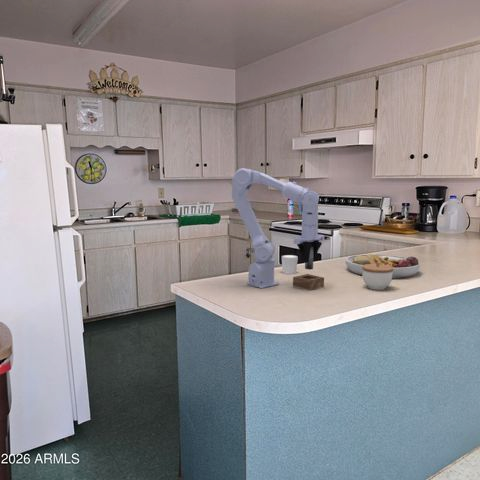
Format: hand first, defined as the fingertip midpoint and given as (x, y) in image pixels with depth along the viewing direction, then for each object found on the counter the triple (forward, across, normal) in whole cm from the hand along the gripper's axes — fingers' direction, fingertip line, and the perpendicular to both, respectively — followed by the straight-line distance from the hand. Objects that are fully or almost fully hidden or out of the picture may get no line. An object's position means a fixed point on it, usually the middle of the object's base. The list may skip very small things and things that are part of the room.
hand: (308, 261), depth 152 cm
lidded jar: (+10, +18, -17) cm, 27 cm away
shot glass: (+10, +12, +21) cm, 26 cm away
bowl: (+10, +44, -3) cm, 45 cm away
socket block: (+9, 0, 0) cm, 9 cm away
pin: (+3, 0, 0) cm, 3 cm away
